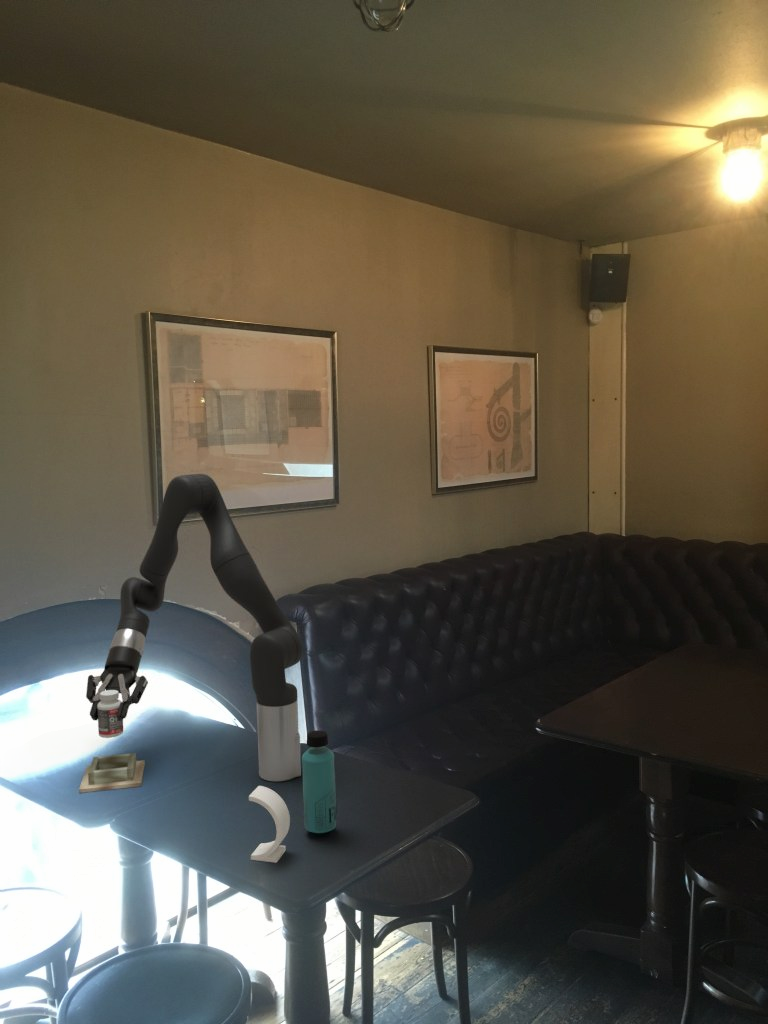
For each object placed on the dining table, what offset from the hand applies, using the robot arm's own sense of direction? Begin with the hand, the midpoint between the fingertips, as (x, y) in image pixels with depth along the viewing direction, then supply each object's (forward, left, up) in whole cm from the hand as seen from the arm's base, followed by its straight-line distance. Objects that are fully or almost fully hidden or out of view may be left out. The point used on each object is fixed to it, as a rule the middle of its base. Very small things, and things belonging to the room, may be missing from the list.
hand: (106, 718), depth 181 cm
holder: (-1, -2, -14) cm, 14 cm away
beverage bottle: (-43, +36, -15) cm, 58 cm away
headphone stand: (-33, +42, -15) cm, 55 cm away
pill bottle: (-1, -2, -4) cm, 5 cm away
